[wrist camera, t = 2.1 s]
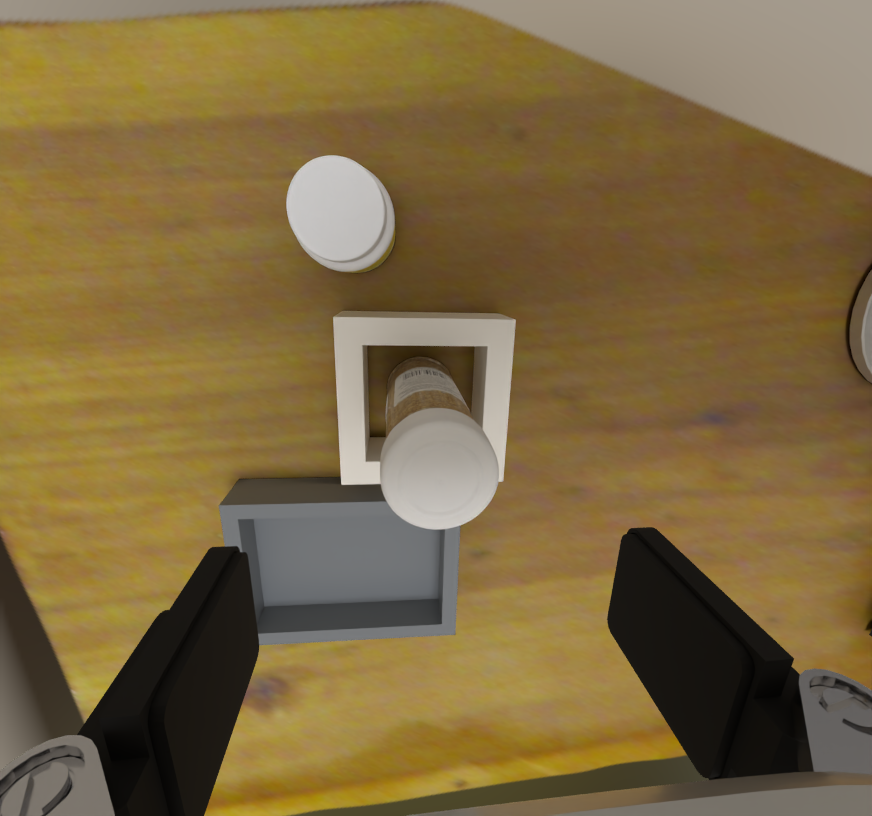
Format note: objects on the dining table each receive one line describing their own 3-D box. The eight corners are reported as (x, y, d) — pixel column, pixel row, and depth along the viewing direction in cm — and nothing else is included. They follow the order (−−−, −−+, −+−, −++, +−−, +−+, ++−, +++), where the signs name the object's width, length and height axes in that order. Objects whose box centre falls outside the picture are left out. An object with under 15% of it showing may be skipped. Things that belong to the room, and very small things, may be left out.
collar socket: (499, 313, 27) (515, 319, 23) (489, 455, 30) (503, 481, 26) (342, 310, 26) (333, 317, 23) (348, 457, 29) (341, 484, 26)
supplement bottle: (412, 233, 25) (419, 214, 17) (357, 289, 26) (340, 296, 18) (353, 167, 24) (331, 114, 16) (297, 228, 25) (250, 206, 17)
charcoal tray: (454, 474, 30) (461, 499, 27) (449, 599, 34) (455, 634, 30) (239, 479, 29) (218, 505, 26) (255, 608, 32) (239, 646, 29)
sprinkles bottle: (379, 410, 29) (364, 520, 16) (397, 345, 27) (398, 408, 15) (443, 427, 29) (478, 545, 17) (463, 365, 28) (519, 441, 15)
